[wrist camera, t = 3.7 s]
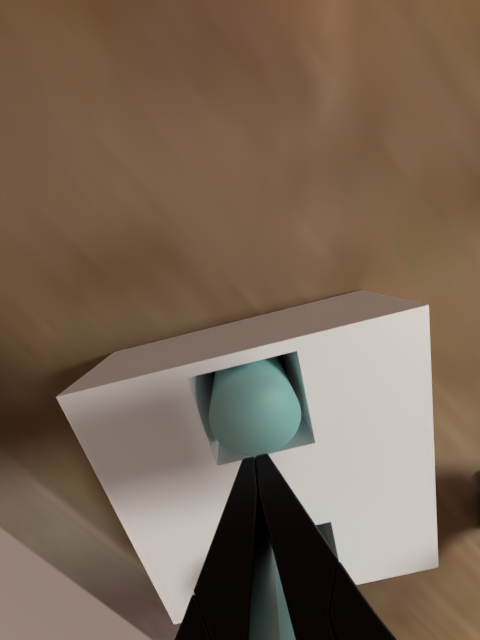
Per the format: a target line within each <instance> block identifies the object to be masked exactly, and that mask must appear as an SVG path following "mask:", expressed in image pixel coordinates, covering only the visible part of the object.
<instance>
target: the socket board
mask: <svg viewBox="0 0 480 640" xmlns="http://www.w3.org/2000/svg"><path fill="white" fill-rule="evenodd" d="M279 355H283V360H284V365H285V369H286V374H287V378H288V380H289V382H290V384H291V386H292V388H293V390H294V393H295V395H296V397H297V399H298V401H299V404H300V407H301V421H300V425H299V428H298V430H297V432H296V434H295V435H294V437H293V438H292V439H291V440H290V441H289V442H288V443H287V444H286V445H285V446H283V447H282V448H280V449H278V450H277V451H274V452H272V453H269V454H268V455H269V456H270V458H271V459H272V461H273V462H274V464H275V465H276V467H277V468H278V470H279V471H280V473H281V474H282V476H283V477H284V479H285V480H286V482H287V483H288V485H289V486H290V488H291V489H292V491H293V492H294V494H295V495H296V497H297V498H298V500H299V501H300V503H301V504H302V505H303V507H304V508H305V510H306V511H307V513H308V514H309V516H310V517H311V519H312V520H313V522H314V523H315V525H319V526H320V527H321V529H322V532H323V535H324V537H325V540H326V541H327V543H328V544H329V546H330V547H331V549H332V550H333V552H334V553H335V555H336V556H337V558H338V560H339V562H341V563H342V565H343V566H344V568H345V569H346V571H347V572H348V574H349V575H350V577H351V578H352V580H353V581H354V583H355V584H356V585H359V584H363V583H368V582H372V581H377V580H382V579H386V578H391V577H396V576H400V575H405V574H409V573H414V572H419V571H423V570H428V569H433V568H437V567H439V565H438V538H437V511H436V484H435V457H434V431H433V404H432V377H431V350H430V323H429V305H428V304H423V303H419V302H414V301H409V300H405V299H400V298H396V297H391V296H387V295H382V294H377V293H373V292H368V291H364V290H359V291H355V292H351V293H347V294H343V295H339V296H335V297H331V298H327V299H323V300H319V301H315V302H311V303H307V304H303V305H299V306H295V307H291V308H287V309H283V310H279V311H275V312H271V313H267V314H263V315H259V316H255V317H251V318H247V319H243V320H239V321H235V322H231V323H227V324H223V325H219V326H215V327H211V328H207V329H203V330H199V331H195V332H191V333H187V334H183V335H180V336H176V337H172V338H168V339H164V340H160V341H156V342H152V343H148V344H144V345H140V346H136V347H132V348H128V349H124V350H120V351H116V352H113V353H112V354H111V355H110V356H108V357H107V358H106V359H104V360H103V361H102V362H100V363H99V364H98V365H97V366H95V367H94V368H93V369H91V370H90V371H89V372H88V373H86V374H85V375H84V376H82V377H81V378H80V379H78V380H77V381H76V382H75V383H73V384H72V385H71V386H69V387H68V388H67V389H65V390H64V391H63V392H62V393H60V394H59V395H58V396H56V398H57V400H58V402H59V404H60V406H61V408H62V410H63V412H64V414H65V416H66V418H67V420H68V422H69V423H70V425H71V427H72V429H73V431H74V433H75V435H76V437H77V439H78V441H79V443H80V445H81V447H82V448H83V450H84V452H85V454H86V456H87V458H88V460H89V462H90V464H91V466H92V468H93V470H94V472H95V473H96V475H97V477H98V479H99V481H100V483H101V485H102V487H103V489H104V491H105V493H106V495H107V497H108V498H109V500H110V502H111V504H112V506H113V508H114V510H115V512H116V514H117V516H118V518H119V520H120V522H121V523H122V525H123V527H124V529H125V531H126V533H127V535H128V537H129V539H130V541H131V543H132V545H133V547H134V548H135V550H136V552H137V554H138V556H139V558H140V560H141V562H142V564H143V566H144V568H145V570H146V572H147V573H148V575H149V577H150V579H151V581H152V583H153V585H154V587H155V589H156V591H157V593H158V595H159V597H160V598H161V600H162V602H163V604H164V606H165V608H166V610H167V612H168V614H169V616H170V618H171V620H172V622H173V623H174V624H178V623H182V620H183V618H184V615H185V612H186V609H187V607H188V604H189V601H190V599H191V596H192V595H193V594H194V588H195V586H196V583H197V580H198V577H199V575H200V572H201V569H202V567H203V564H204V561H205V559H206V556H207V553H208V551H209V548H210V545H211V543H212V540H213V537H214V534H215V532H216V529H217V526H218V524H219V521H220V518H221V516H222V513H223V510H224V508H225V505H226V502H227V499H228V497H229V494H230V491H231V489H232V486H233V483H234V481H235V478H236V475H237V473H238V470H239V467H240V464H241V462H242V460H243V459H244V458H248V457H252V456H247V455H241V454H237V453H235V452H232V451H230V450H228V449H227V448H225V447H224V446H222V445H221V444H220V443H219V442H218V441H217V439H216V438H215V437H214V435H213V433H212V431H211V428H210V424H209V411H210V404H211V397H212V390H213V384H214V377H213V374H212V372H214V371H218V370H222V369H226V368H230V367H234V366H238V365H242V364H246V363H251V362H255V361H259V360H263V359H267V358H271V357H275V356H279ZM254 457H256V456H254ZM194 595H195V594H194Z"/></svg>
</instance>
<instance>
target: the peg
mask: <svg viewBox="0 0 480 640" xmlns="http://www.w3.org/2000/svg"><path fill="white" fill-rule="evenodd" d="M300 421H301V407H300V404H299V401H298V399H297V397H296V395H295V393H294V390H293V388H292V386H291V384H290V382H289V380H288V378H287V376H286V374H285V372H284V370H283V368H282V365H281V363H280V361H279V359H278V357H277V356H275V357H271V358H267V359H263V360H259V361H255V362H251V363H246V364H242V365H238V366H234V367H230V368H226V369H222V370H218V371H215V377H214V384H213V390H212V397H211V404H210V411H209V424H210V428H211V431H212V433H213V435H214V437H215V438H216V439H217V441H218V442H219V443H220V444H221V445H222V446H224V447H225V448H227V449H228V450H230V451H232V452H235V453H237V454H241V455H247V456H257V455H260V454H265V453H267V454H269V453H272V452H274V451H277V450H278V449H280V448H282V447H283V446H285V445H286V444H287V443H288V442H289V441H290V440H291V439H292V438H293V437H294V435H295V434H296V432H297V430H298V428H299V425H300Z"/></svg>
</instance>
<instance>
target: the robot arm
mask: <svg viewBox="0 0 480 640" xmlns="http://www.w3.org/2000/svg"><path fill="white" fill-rule="evenodd" d="M273 553H274V557H275V561H276V565H277V569H278V573H279V576H280V580H281V584H282V588H283V592H284V596H285V600H286V604H287V608H288V612H289V616H290V620H291V624H292V628H293V632H294V635H295V639H296V640H396V638H395V637H394V636H393V634H392V633H391V632H390V630H389V629H388V628H387V627H386V625H385V624H384V623H383V621H382V620H381V619H380V617H379V616H378V615H377V613H376V612H375V611H374V609H373V608H372V607H371V605H370V604H369V602H368V601H367V600H366V598H365V597H364V595H363V594H362V592H361V591H360V590H359V588H358V587H357V585H356V584H355V583H354V581H353V580H352V578H351V577H350V575H349V574H348V572H347V571H346V569H345V568H344V566H343V565H342V563H341V562H339V560H338V558H337V556H336V555H335V553H334V552H333V550H332V549H331V547H330V546H329V544H328V543H327V541H326V540H325V538H324V537H323V535H322V534H321V532H320V531H319V529H318V528H317V526H316V525H315V523H314V522H313V520H312V519H311V517H310V516H309V514H308V513H307V511H306V510H305V508H304V507H303V505H302V504H301V503H300V501H299V500H298V498H297V497H296V495H295V494H294V492H293V491H292V489H291V488H290V486H289V485H288V483H287V482H286V480H285V479H284V477H283V476H282V474H281V473H280V471H279V470H278V468H277V467H276V465H275V464H274V462H273V461H272V459H271V458H270V456H269V455H268V454H267V453H265V454H260V455H257V456H256V457H254V456H252V457H248V458H244V459H243V460H242V462H241V464H240V467H239V470H238V473H237V475H236V478H235V481H234V483H233V486H232V489H231V491H230V494H229V497H228V499H227V502H226V505H225V508H224V510H223V513H222V516H221V518H220V521H219V524H218V526H217V529H216V532H215V534H214V537H213V540H212V543H211V545H210V548H209V551H208V553H207V556H206V559H205V561H204V564H203V567H202V569H201V572H200V575H199V577H198V580H197V583H196V586H195V588H194V594H195V595H194V594H193V595H192V596H191V599H190V601H189V604H188V607H187V609H186V612H185V615H184V618H183V620H182V623H181V625H180V628H179V630H178V633H177V635H176V638H175V640H280V632H279V619H278V607H277V594H276V582H275V569H274V557H273Z"/></svg>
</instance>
